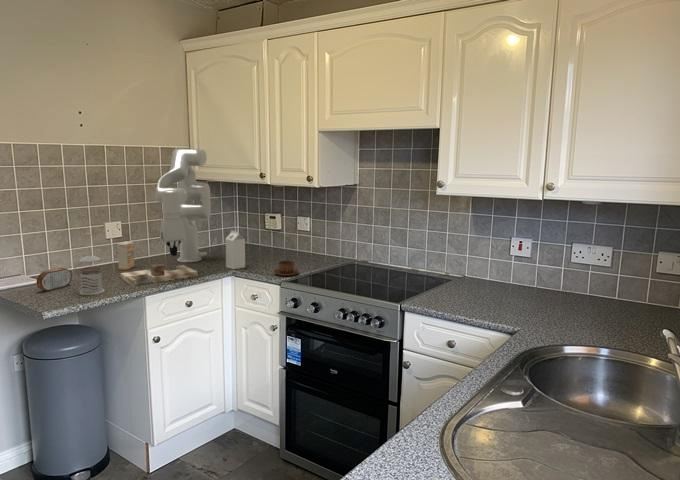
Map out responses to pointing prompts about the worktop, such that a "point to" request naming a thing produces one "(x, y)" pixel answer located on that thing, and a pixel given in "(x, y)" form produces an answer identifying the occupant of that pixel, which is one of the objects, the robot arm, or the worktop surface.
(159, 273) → the walnut block
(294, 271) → the cup and saucer
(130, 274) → the trap board
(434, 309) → the worktop surface
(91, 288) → the french press
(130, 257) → the supplement box
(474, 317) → the worktop surface
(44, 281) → the brown grey rounded block
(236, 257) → the milk carton
